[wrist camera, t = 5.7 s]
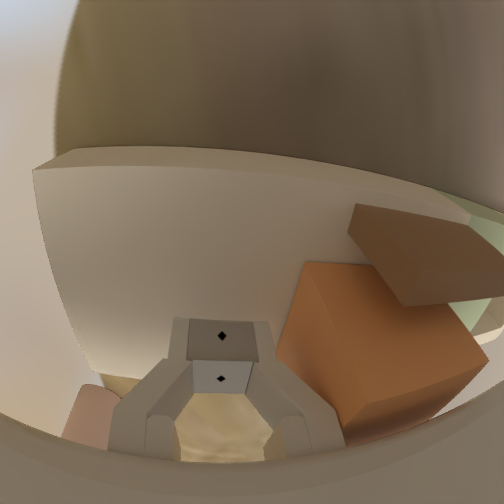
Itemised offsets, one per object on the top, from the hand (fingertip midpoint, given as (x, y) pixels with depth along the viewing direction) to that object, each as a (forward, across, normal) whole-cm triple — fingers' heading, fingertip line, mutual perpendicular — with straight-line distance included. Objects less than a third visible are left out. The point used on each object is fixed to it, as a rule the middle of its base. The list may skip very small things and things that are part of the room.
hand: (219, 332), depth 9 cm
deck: (+4, -9, 0) cm, 10 cm away
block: (+1, -5, 0) cm, 5 cm away
